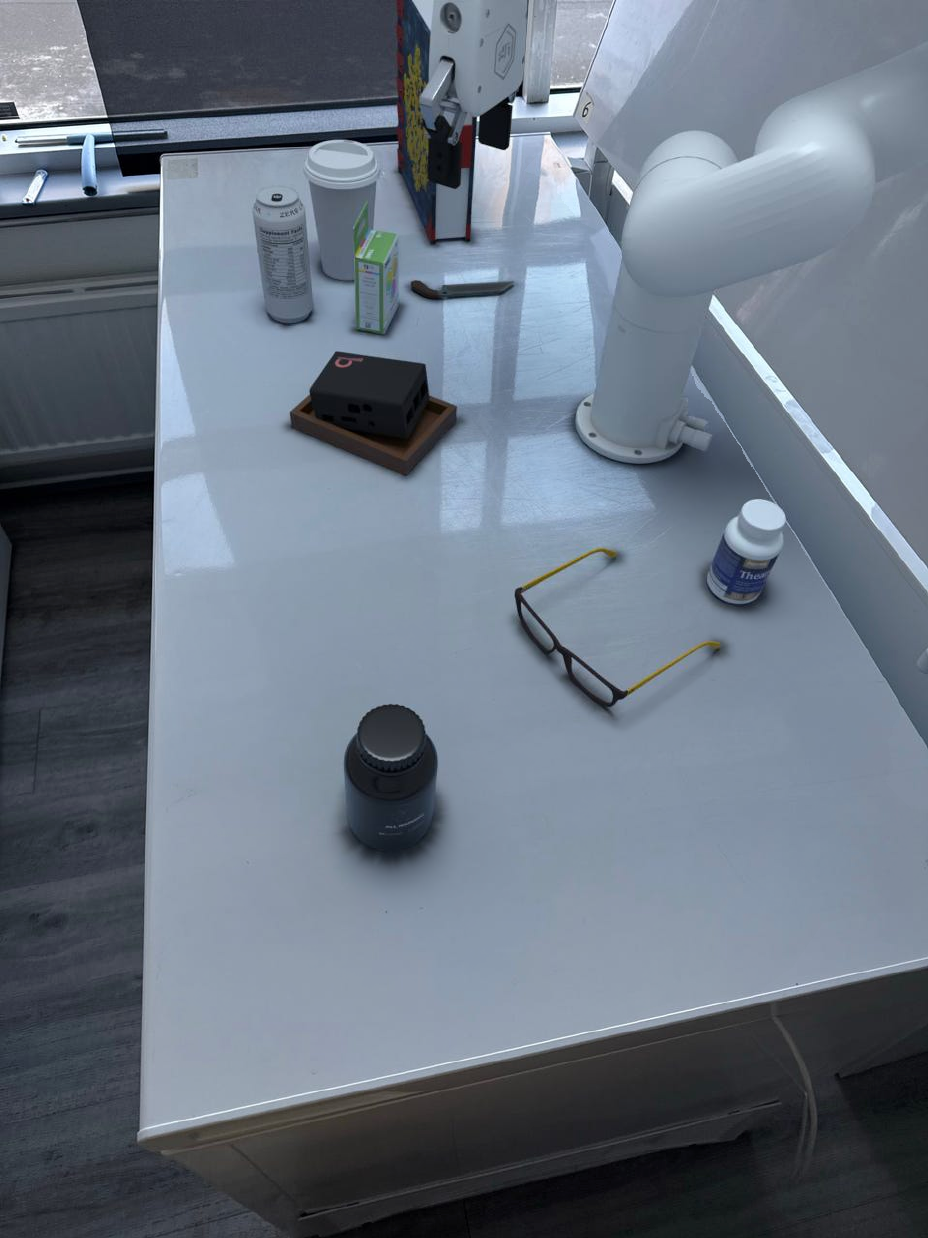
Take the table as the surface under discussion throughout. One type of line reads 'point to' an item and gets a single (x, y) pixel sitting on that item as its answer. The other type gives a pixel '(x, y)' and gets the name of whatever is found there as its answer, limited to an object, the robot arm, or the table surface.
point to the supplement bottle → (390, 778)
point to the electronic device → (371, 394)
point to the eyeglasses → (568, 654)
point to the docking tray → (380, 447)
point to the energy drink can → (283, 253)
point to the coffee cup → (340, 199)
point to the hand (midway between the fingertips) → (469, 164)
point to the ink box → (375, 276)
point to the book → (434, 202)
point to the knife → (461, 289)
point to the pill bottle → (747, 552)
